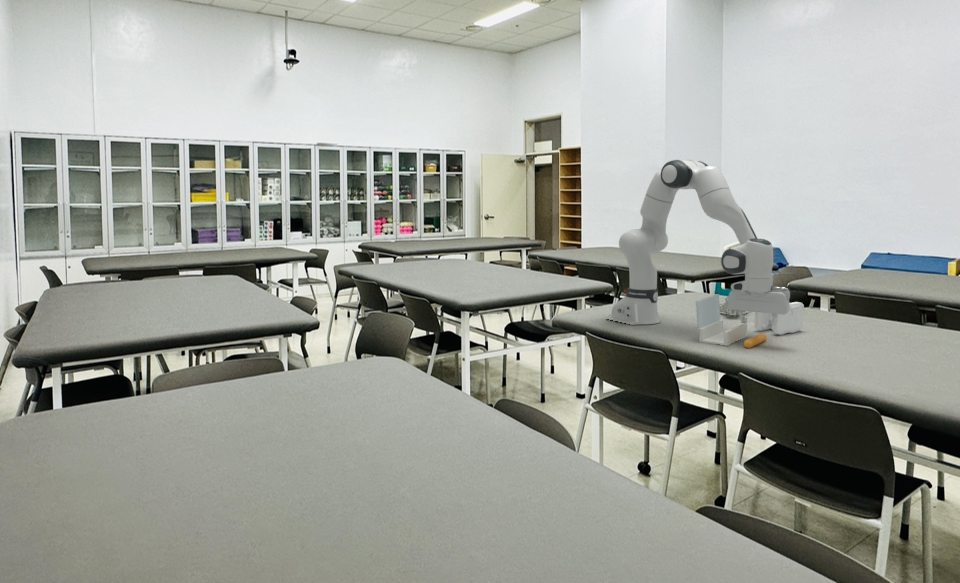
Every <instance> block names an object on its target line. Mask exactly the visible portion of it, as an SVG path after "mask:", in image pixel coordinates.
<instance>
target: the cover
mask: <svg viewBox="0 0 960 583" xmlns="http://www.w3.org/2000/svg"><path fill="white" fill-rule="evenodd" d="M720 304H721V303H720V294H719V293H718V294H717V293H716V294H714V295H711V296H708V297H705V298H700V299H698V300H696V301H695V308H696V309H695V311H696V326H697V327H696V329H700V328H702V327H705V326H707V325H710V324H712V323H715V322H718V321H720V320H721V312H720V306H721V305H720Z"/></svg>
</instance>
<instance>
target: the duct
mask: <svg viewBox="0 0 960 583" xmlns="http://www.w3.org/2000/svg"><path fill="white" fill-rule="evenodd" d="M723 329H724V320H721V319H720V321H717V322H715V323H712V324H710V325H707V326H705V327H702V328H699V338H698V340H699V343H703V342H706V343H705V344H709V343H713V344H712V345H716V344H720V345H719V346H723V345H726V346H725V347H727V345H728V346H730V345H732V344H734V343H736V342H735V341H737V342H739V341H741V340H743V339H745V338H747V332H748V331H747V330H748V323H741V324H740V325H737V326H735V327H732V328H730V329H727V330H726V331H724V330H723ZM744 337H745V338H744ZM742 338H743V339H742ZM740 339H741V340H740ZM738 340H739V341H738ZM733 342H734V343H733ZM731 343H732V344H731ZM729 344H730V345H729Z"/></svg>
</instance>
